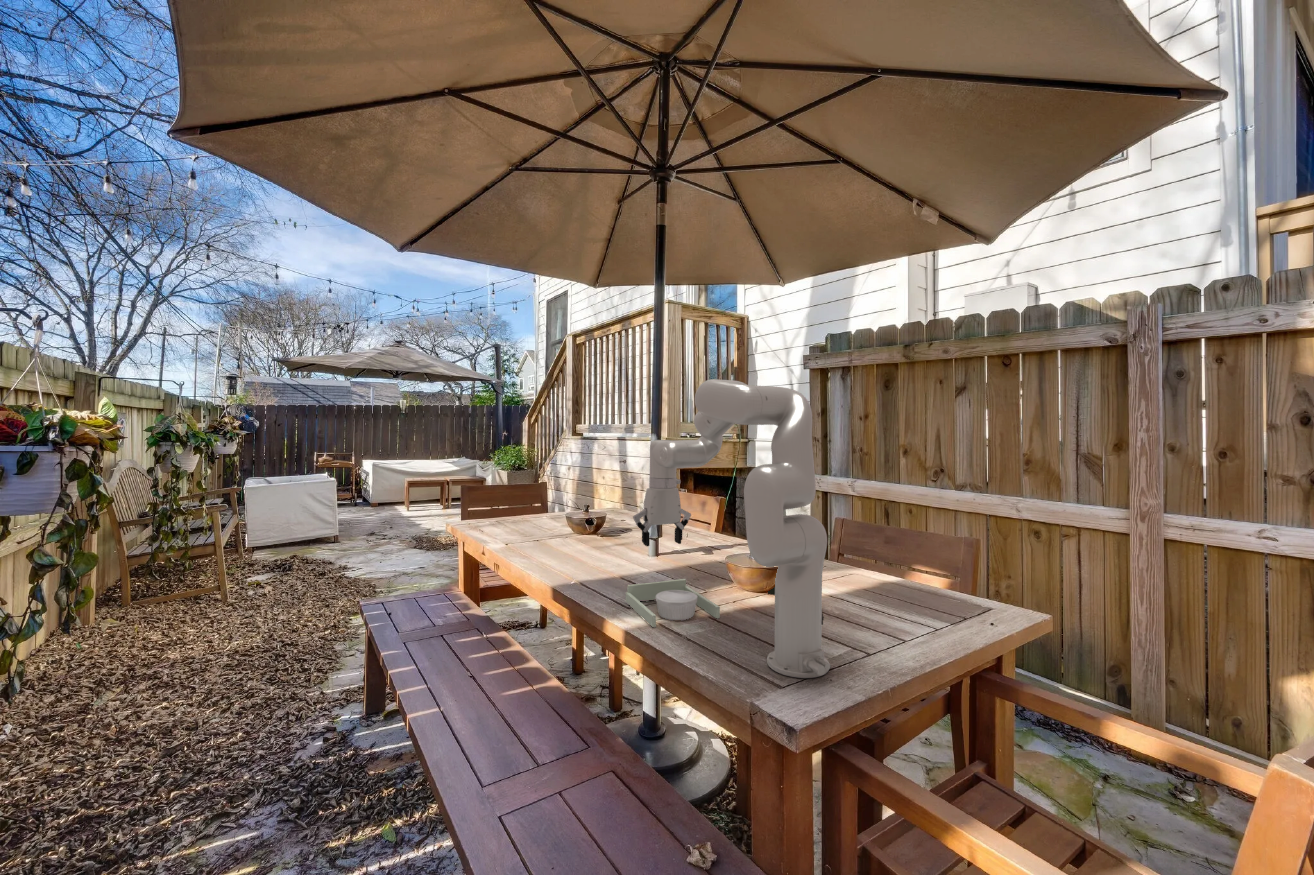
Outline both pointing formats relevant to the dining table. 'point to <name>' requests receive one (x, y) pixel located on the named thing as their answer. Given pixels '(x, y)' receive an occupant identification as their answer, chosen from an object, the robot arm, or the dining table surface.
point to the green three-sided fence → (652, 589)
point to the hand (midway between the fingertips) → (662, 544)
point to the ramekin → (676, 604)
